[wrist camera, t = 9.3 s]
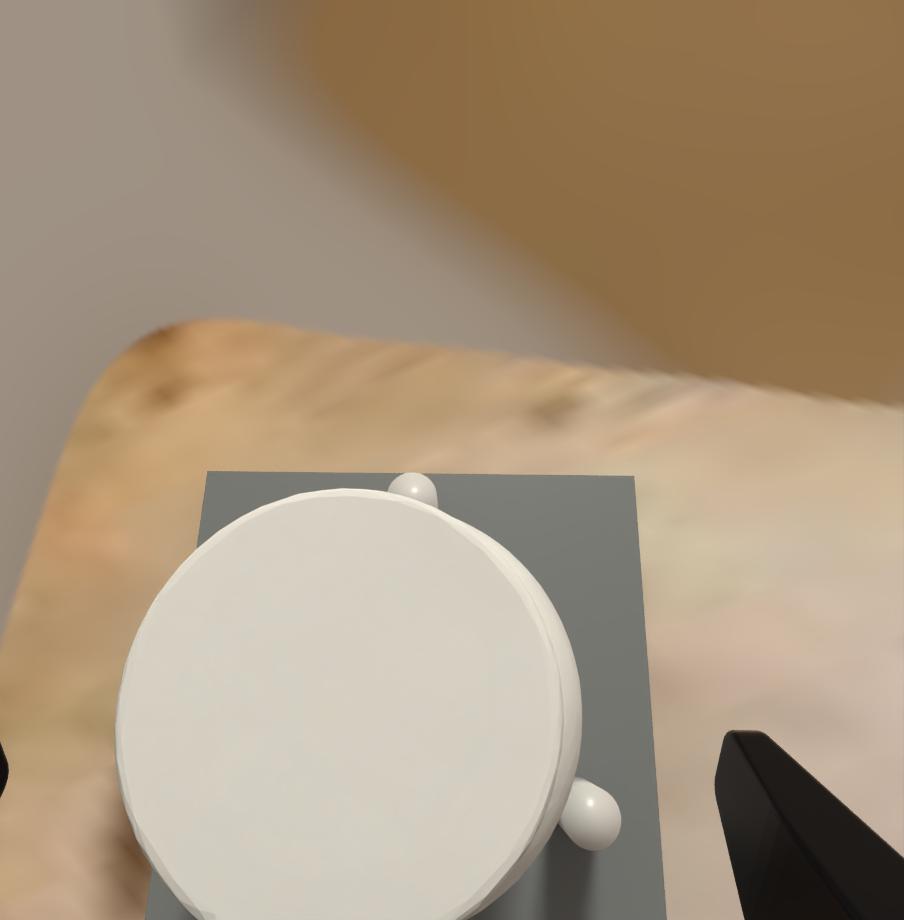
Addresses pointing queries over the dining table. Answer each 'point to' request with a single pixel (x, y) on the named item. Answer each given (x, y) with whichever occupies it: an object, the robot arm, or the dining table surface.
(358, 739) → the pill bottle
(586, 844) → the pin tray
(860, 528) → the dining table surface
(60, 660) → the dining table surface
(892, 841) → the dining table surface
